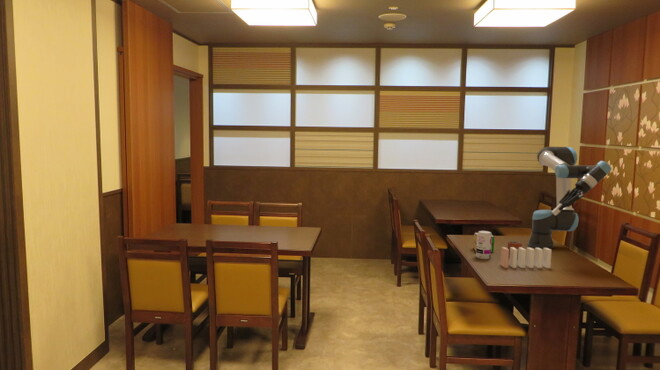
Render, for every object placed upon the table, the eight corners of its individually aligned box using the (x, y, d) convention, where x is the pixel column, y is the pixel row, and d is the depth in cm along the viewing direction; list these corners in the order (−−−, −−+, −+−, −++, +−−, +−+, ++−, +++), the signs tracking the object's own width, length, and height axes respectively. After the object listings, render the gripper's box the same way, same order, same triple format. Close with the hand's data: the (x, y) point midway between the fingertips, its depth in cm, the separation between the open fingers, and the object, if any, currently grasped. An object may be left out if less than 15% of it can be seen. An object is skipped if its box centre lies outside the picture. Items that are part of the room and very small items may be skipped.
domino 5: (537, 265, 263) (538, 247, 262) (541, 268, 258) (543, 249, 257) (533, 265, 263) (535, 247, 262) (538, 268, 258) (539, 249, 257)
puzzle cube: (489, 249, 299) (490, 233, 298) (493, 253, 289) (494, 236, 288) (473, 248, 300) (474, 232, 299) (476, 252, 290) (477, 236, 289)
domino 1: (504, 265, 262) (505, 247, 261) (507, 267, 257) (509, 249, 256) (500, 265, 262) (501, 247, 261) (504, 267, 257) (505, 249, 256)
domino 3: (520, 265, 263) (522, 247, 262) (524, 268, 258) (526, 249, 257) (517, 265, 263) (518, 247, 262) (521, 267, 258) (522, 249, 257)
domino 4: (529, 265, 263) (530, 247, 262) (533, 268, 258) (534, 249, 257) (525, 265, 263) (526, 247, 262) (529, 268, 258) (530, 249, 257)
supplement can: (490, 256, 280) (492, 231, 278) (490, 260, 272) (492, 234, 271) (476, 255, 283) (477, 230, 281) (475, 258, 275) (477, 232, 273)
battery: (506, 256, 281) (507, 240, 279) (518, 257, 280) (519, 240, 279) (509, 258, 276) (510, 241, 275) (521, 259, 276) (522, 242, 275)
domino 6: (545, 265, 263) (547, 247, 262) (550, 268, 258) (551, 250, 257) (542, 265, 263) (543, 247, 262) (546, 268, 258) (547, 249, 257)
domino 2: (512, 265, 263) (513, 247, 262) (516, 267, 258) (517, 249, 257) (508, 265, 263) (510, 247, 261) (512, 267, 258) (514, 249, 256)
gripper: (574, 178, 271) (543, 207, 272) (588, 180, 258) (555, 210, 259) (583, 187, 272) (552, 216, 273) (597, 190, 259) (564, 220, 260)
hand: (553, 213), depth 266 cm, fingers closed
